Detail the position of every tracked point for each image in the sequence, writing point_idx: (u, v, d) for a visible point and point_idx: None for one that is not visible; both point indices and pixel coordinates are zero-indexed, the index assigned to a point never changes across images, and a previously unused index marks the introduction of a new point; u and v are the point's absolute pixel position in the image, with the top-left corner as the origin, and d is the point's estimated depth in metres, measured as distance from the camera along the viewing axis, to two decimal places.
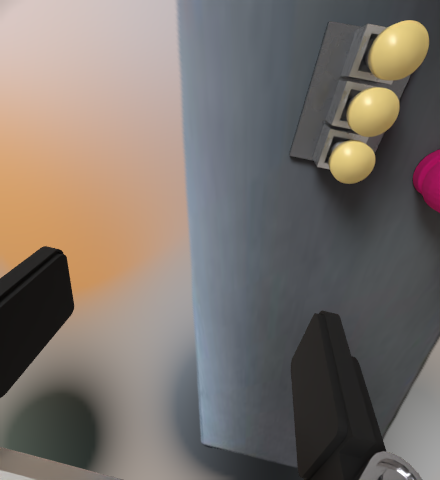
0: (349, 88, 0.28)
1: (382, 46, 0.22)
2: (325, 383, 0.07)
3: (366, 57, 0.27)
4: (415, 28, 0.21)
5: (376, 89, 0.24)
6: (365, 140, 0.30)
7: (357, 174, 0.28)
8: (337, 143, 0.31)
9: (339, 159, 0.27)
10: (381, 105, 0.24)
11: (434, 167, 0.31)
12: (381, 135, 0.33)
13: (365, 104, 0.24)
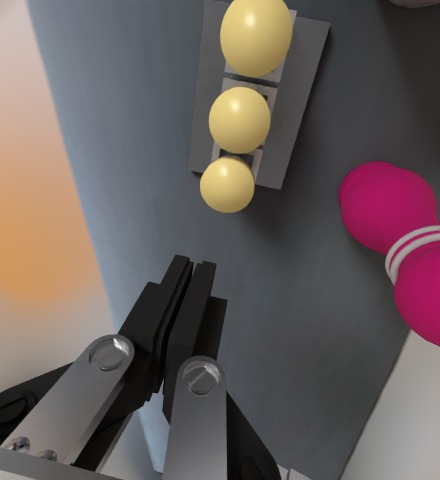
0: (227, 87, 0.21)
1: (230, 28, 0.16)
2: None
3: None
4: (269, 1, 0.15)
5: (235, 89, 0.17)
6: (259, 154, 0.24)
7: (235, 201, 0.21)
8: None
9: (208, 182, 0.20)
10: (246, 111, 0.18)
11: (351, 187, 0.25)
12: (291, 146, 0.27)
13: (225, 110, 0.18)
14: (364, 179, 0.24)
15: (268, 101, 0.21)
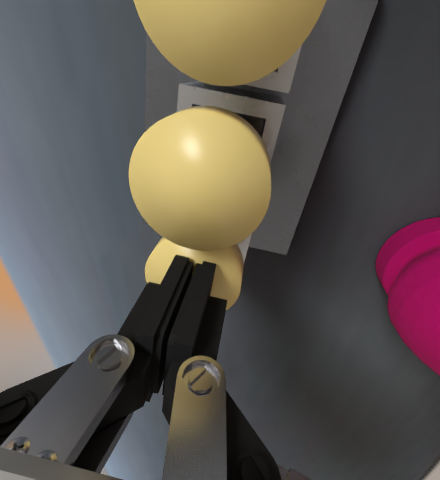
0: (188, 102, 0.11)
1: None
2: None
3: None
4: None
5: (182, 117, 0.07)
6: None
7: None
8: None
9: (159, 271, 0.11)
10: (212, 168, 0.07)
11: (410, 271, 0.14)
12: (305, 193, 0.16)
13: (163, 163, 0.07)
14: (437, 262, 0.13)
15: (267, 129, 0.11)
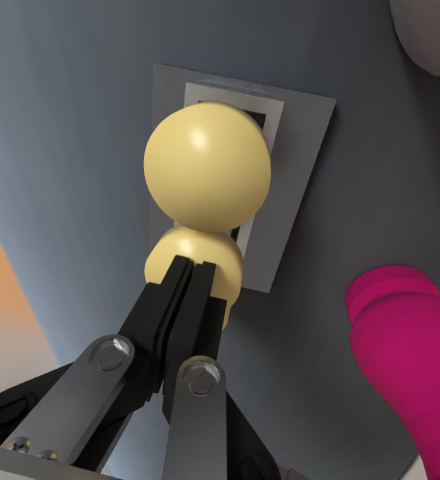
0: None
1: (159, 163, 0.09)
2: None
3: None
4: (226, 126, 0.08)
5: (180, 242, 0.10)
6: None
7: None
8: None
9: None
10: None
11: (365, 315, 0.18)
12: (282, 246, 0.20)
13: (168, 265, 0.11)
14: (384, 310, 0.17)
15: None
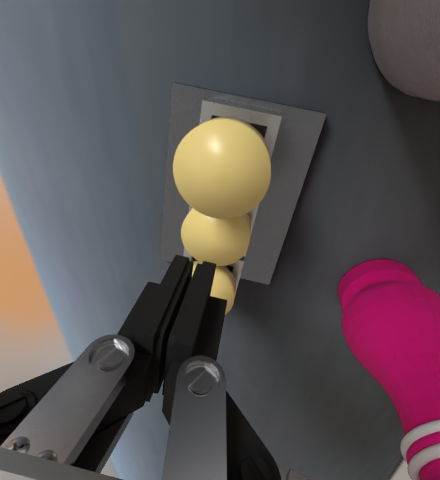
0: None
1: (185, 163, 0.11)
2: None
3: None
4: (237, 135, 0.10)
5: None
6: (240, 265, 0.19)
7: None
8: None
9: None
10: (222, 228, 0.16)
11: (354, 301, 0.20)
12: (281, 241, 0.22)
13: (198, 225, 0.16)
14: (370, 296, 0.19)
15: (248, 212, 0.17)
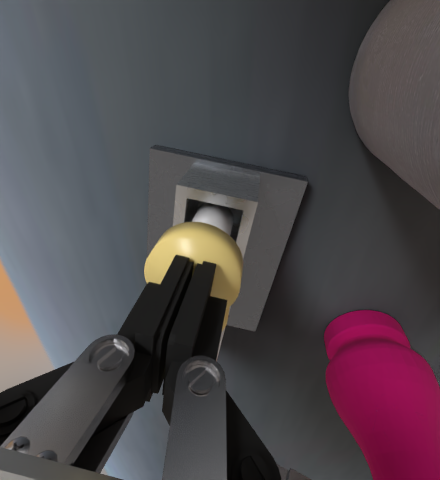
0: None
1: (156, 270, 0.11)
2: None
3: None
4: (205, 251, 0.11)
5: None
6: None
7: None
8: None
9: None
10: None
11: (337, 359, 0.20)
12: (266, 294, 0.22)
13: None
14: (352, 357, 0.19)
15: None
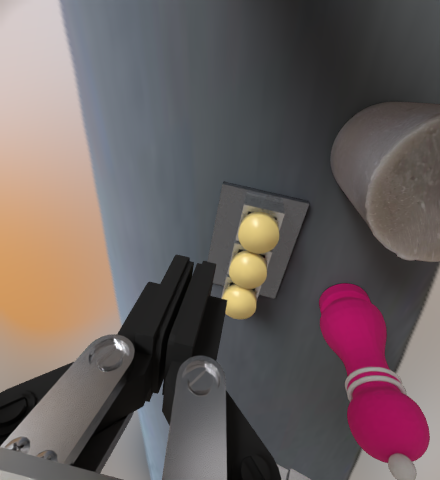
0: (237, 248, 0.31)
1: (243, 231, 0.27)
2: None
3: None
4: (266, 222, 0.27)
5: (245, 258, 0.29)
6: (259, 287, 0.33)
7: (243, 313, 0.32)
8: None
9: (227, 301, 0.32)
10: (252, 268, 0.29)
11: (326, 309, 0.34)
12: (283, 271, 0.36)
13: (239, 267, 0.29)
14: (335, 306, 0.33)
15: (265, 258, 0.31)
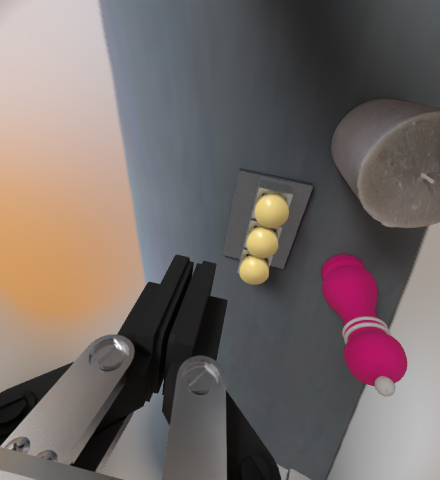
0: (252, 225, 0.36)
1: (259, 209, 0.33)
2: None
3: None
4: (278, 202, 0.32)
5: (260, 232, 0.35)
6: (270, 258, 0.39)
7: (258, 279, 0.38)
8: None
9: (244, 270, 0.38)
10: (266, 241, 0.35)
11: (328, 276, 0.40)
12: (290, 245, 0.42)
13: (255, 240, 0.35)
14: (335, 273, 0.39)
15: (276, 232, 0.37)
